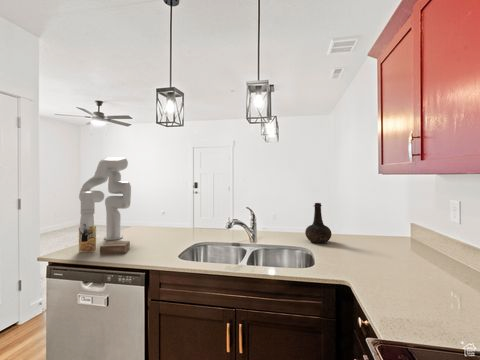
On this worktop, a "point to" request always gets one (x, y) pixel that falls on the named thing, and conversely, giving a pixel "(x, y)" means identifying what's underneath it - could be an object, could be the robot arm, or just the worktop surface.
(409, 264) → the worktop surface
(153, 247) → the worktop surface
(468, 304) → the worktop surface
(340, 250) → the worktop surface
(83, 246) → the candy box
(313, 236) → the glass bottle
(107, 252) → the walnut block
